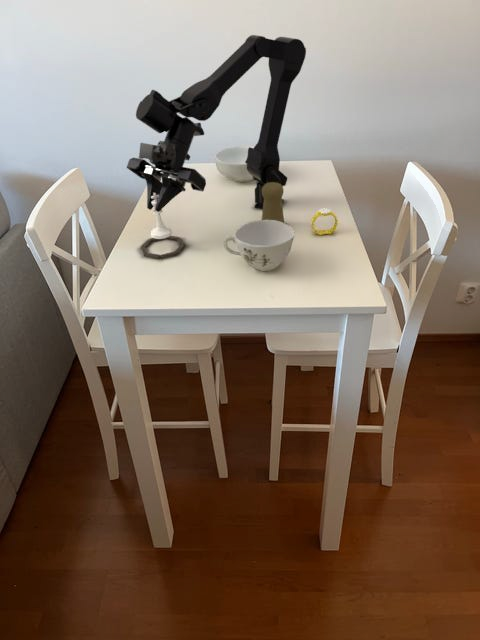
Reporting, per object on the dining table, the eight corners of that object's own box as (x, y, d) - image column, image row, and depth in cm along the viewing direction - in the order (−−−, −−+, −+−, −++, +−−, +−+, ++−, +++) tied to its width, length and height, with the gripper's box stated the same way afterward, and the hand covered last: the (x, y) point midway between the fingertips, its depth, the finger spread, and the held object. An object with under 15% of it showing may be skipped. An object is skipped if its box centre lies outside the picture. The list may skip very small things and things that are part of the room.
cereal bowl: (271, 186, 137) (271, 162, 133) (215, 188, 138) (213, 165, 133) (269, 166, 150) (269, 143, 146) (218, 168, 151) (216, 146, 147)
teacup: (294, 250, 107) (295, 218, 102) (292, 280, 97) (293, 246, 92) (230, 249, 109) (227, 217, 104) (221, 278, 99) (218, 245, 94)
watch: (335, 230, 114) (337, 207, 110) (337, 235, 112) (339, 212, 108) (310, 231, 114) (311, 208, 110) (312, 236, 112) (313, 213, 108)
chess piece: (174, 235, 108) (168, 194, 101) (154, 241, 106) (146, 199, 100) (168, 227, 111) (162, 187, 105) (148, 232, 110) (140, 191, 104)
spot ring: (191, 241, 113) (190, 238, 113) (171, 261, 106) (171, 259, 105) (155, 235, 116) (154, 233, 116) (133, 254, 109) (133, 252, 109)
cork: (288, 223, 118) (289, 181, 111) (279, 233, 114) (279, 190, 107) (266, 219, 120) (265, 178, 113) (256, 229, 116) (255, 187, 109)
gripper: (123, 120, 101) (98, 187, 101) (191, 130, 93) (164, 203, 92) (153, 146, 111) (130, 207, 111) (217, 156, 102) (193, 223, 102)
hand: (152, 210), depth 104 cm, fingers closed on chess piece
